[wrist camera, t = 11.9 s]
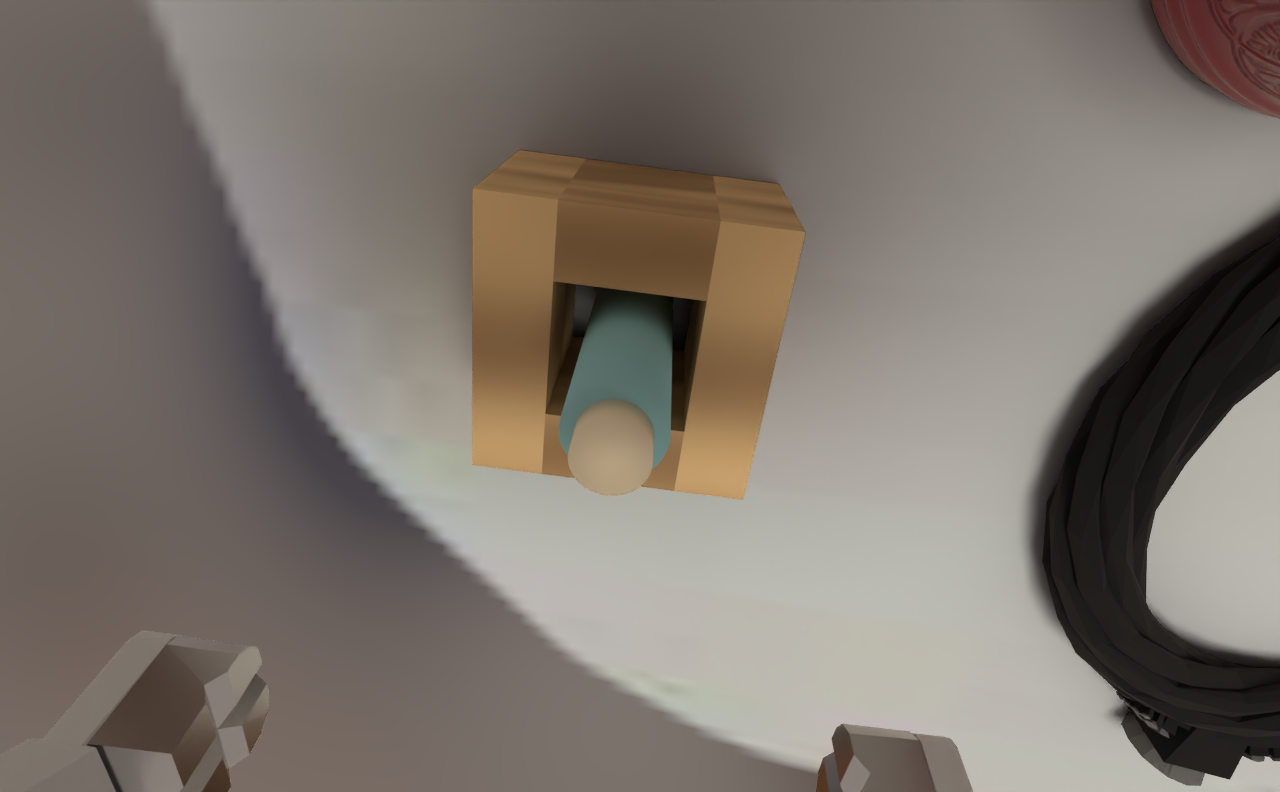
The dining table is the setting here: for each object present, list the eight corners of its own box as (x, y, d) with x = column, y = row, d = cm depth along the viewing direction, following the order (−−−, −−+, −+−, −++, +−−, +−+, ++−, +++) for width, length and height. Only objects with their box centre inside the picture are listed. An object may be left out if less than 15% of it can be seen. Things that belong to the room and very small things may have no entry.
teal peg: (602, 252, 26) (554, 401, 16) (678, 262, 26) (677, 417, 16) (595, 323, 27) (547, 501, 17) (668, 332, 27) (661, 515, 17)
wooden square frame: (519, 150, 24) (472, 188, 19) (779, 184, 24) (805, 232, 19) (511, 380, 28) (472, 464, 23) (732, 409, 28) (743, 499, 23)
